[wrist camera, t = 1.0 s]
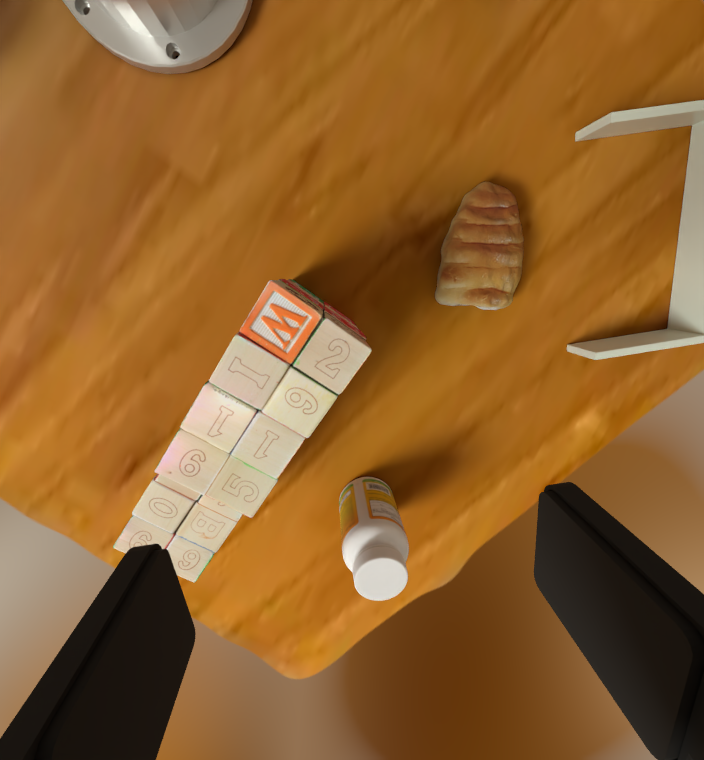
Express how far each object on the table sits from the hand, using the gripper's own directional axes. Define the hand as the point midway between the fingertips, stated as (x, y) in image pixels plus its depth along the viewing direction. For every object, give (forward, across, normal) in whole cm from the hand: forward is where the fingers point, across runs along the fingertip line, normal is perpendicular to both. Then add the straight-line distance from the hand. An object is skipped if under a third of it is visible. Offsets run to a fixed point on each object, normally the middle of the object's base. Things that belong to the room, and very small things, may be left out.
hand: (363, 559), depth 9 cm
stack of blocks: (+23, +7, +4) cm, 24 cm away
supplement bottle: (+23, -1, +15) cm, 27 cm away
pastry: (+23, -12, -6) cm, 27 cm away
